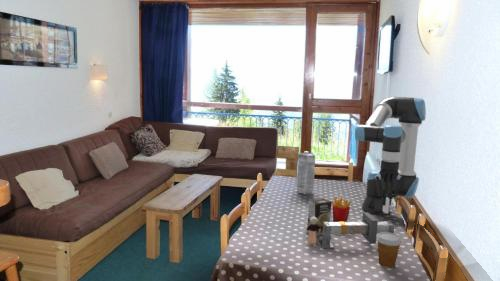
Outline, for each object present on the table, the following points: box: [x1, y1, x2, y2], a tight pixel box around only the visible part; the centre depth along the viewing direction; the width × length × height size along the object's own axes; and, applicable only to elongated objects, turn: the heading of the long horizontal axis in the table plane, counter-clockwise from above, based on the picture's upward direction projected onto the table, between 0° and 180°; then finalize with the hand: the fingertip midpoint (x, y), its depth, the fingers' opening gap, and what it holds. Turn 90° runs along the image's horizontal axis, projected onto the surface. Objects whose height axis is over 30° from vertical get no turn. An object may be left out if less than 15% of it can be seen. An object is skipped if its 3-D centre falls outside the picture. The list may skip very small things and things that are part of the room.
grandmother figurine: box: [304, 217, 321, 246], centre depth 177 cm, size 8×4×13 cm, turn 119°
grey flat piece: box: [360, 211, 379, 245], centre depth 178 cm, size 2×10×10 cm, turn 7°
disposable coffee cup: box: [376, 232, 402, 269], centre depth 160 cm, size 10×10×12 cm
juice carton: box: [296, 150, 316, 195], centre depth 255 cm, size 9×10×27 cm
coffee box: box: [306, 198, 332, 237], centre depth 190 cm, size 9×6×16 cm
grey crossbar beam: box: [317, 220, 395, 250], centre depth 178 cm, size 34×8×10 cm, turn 97°
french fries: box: [330, 196, 352, 222], centre depth 200 cm, size 9×8×15 cm
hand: (385, 212), depth 178 cm, fingers closed
